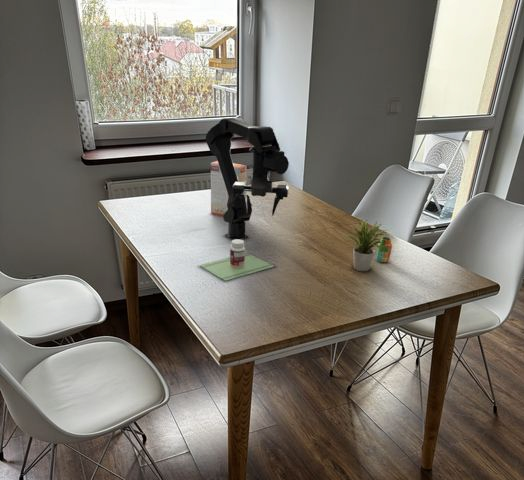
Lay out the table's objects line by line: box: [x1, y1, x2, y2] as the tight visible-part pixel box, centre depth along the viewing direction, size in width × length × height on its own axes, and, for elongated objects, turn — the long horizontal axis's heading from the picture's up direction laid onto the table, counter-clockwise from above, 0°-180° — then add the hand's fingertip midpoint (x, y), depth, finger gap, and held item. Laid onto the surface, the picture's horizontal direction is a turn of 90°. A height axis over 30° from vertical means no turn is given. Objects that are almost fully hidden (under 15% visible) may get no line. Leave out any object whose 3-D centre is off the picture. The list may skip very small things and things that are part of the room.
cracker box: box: [210, 160, 248, 217], centre depth 210 cm, size 14×6×21 cm, turn 58°
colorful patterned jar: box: [376, 236, 393, 263], centre depth 177 cm, size 5×5×8 cm
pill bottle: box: [229, 239, 246, 268], centre depth 167 cm, size 5×5×8 cm
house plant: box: [347, 219, 388, 272], centre depth 168 cm, size 14×14×16 cm
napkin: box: [199, 253, 275, 282], centre depth 170 cm, size 14×20×1 cm
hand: (259, 214), depth 179 cm, fingers open, 9 cm apart
